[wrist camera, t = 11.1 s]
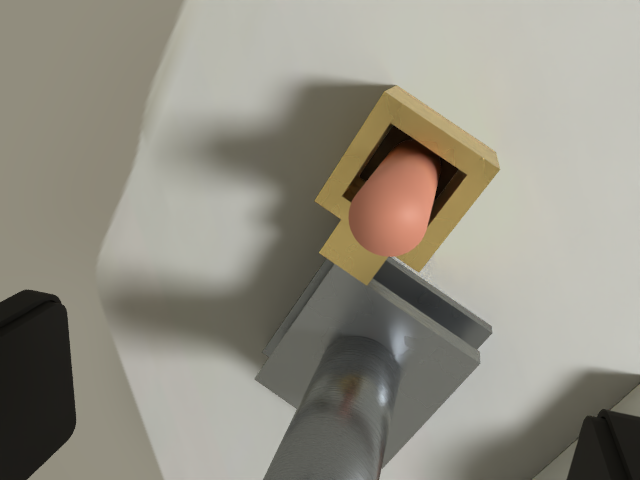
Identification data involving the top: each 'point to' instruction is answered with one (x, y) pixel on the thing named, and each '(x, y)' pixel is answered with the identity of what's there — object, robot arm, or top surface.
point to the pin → (396, 200)
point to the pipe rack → (558, 469)
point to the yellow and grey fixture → (375, 318)
